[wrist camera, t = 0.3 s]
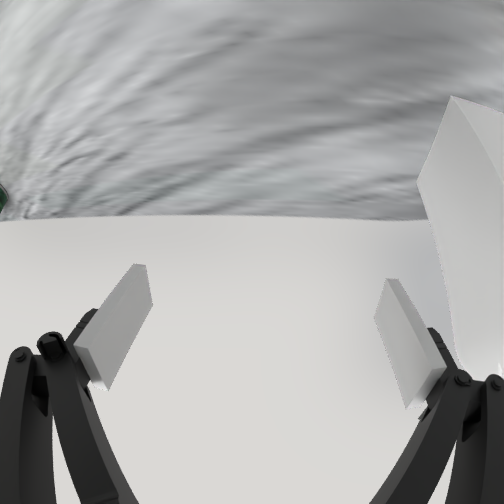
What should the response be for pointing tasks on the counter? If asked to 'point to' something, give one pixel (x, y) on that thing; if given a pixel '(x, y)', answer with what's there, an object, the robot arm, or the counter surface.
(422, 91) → the counter surface
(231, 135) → the counter surface
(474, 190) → the milk
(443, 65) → the counter surface
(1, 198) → the canned tomato
